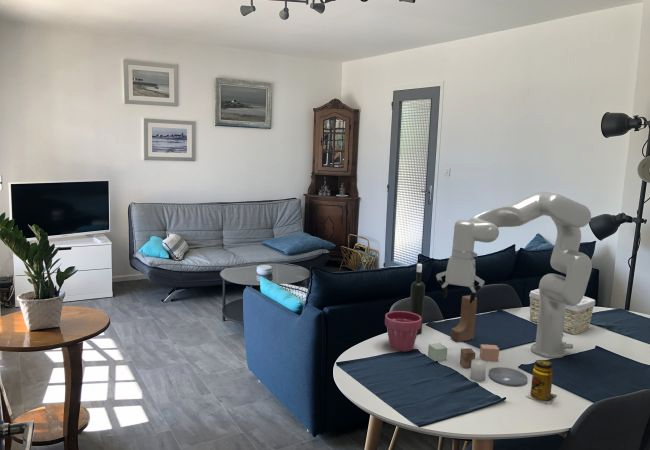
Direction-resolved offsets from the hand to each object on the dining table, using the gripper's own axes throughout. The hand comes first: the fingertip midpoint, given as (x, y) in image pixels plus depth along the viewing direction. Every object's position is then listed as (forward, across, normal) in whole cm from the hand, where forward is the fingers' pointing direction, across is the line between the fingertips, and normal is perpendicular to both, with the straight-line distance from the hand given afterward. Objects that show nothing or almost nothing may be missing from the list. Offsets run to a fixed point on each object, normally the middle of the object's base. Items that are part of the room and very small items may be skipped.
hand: (457, 299), depth 194 cm
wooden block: (+24, 0, -24) cm, 34 cm away
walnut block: (+24, -6, +2) cm, 24 cm away
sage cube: (+24, +5, +1) cm, 24 cm away
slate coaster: (+23, -20, +6) cm, 32 cm away
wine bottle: (+24, +19, -22) cm, 38 cm away
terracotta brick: (+24, -13, -8) cm, 28 cm away
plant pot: (+24, +20, -4) cm, 32 cm away
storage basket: (+23, -38, -64) cm, 77 cm away
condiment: (+24, -32, +15) cm, 42 cm away
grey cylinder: (+24, -11, +11) cm, 28 cm away
